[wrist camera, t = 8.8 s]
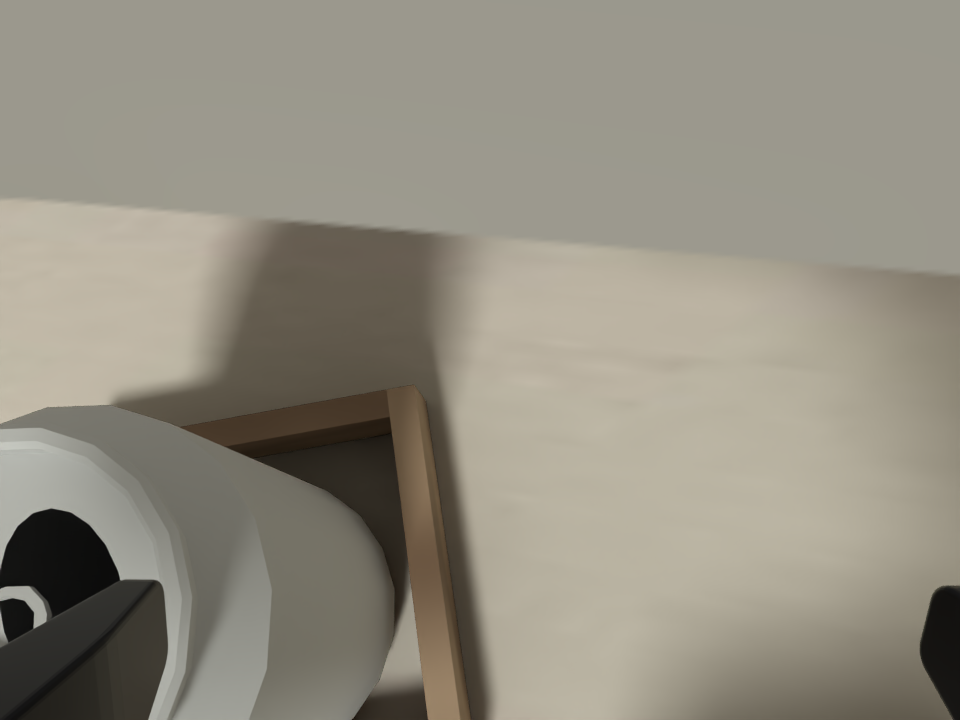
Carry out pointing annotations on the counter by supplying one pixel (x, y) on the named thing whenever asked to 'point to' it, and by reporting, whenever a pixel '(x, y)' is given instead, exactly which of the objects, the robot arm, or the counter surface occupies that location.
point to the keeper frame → (419, 505)
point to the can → (196, 562)
